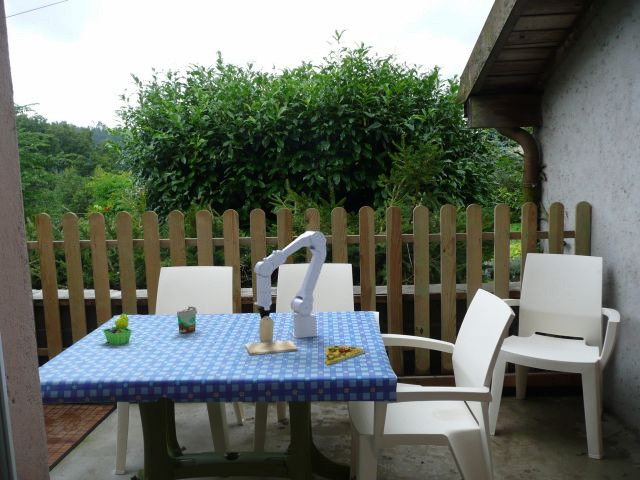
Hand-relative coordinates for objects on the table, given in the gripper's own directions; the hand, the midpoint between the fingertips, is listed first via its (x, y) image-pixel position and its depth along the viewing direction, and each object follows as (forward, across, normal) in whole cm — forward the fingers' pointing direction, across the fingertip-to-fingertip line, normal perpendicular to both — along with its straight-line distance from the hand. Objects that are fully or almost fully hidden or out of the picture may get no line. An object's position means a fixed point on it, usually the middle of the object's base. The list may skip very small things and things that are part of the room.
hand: (264, 324), depth 228 cm
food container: (+7, -28, -29) cm, 41 cm away
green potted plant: (+7, -20, -58) cm, 62 cm away
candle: (+6, +1, 0) cm, 6 cm away
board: (+7, +12, 0) cm, 14 cm away
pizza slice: (+7, +32, +21) cm, 39 cm away
